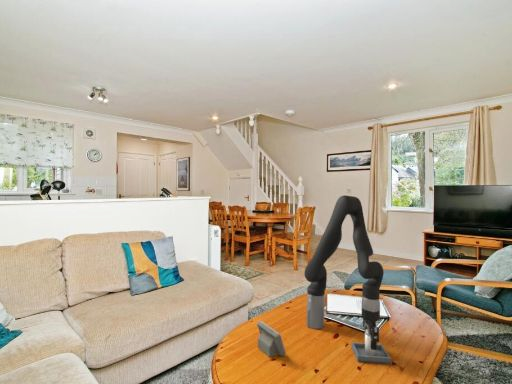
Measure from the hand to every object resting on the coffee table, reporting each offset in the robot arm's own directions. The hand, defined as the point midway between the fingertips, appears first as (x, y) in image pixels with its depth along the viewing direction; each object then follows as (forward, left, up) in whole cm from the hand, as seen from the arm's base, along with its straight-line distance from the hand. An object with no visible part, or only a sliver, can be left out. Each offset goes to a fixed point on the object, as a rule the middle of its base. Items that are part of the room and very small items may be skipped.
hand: (370, 343), depth 118 cm
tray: (0, 0, -5) cm, 5 cm away
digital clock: (-44, -1, -5) cm, 44 cm away
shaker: (0, 0, -4) cm, 5 cm away
